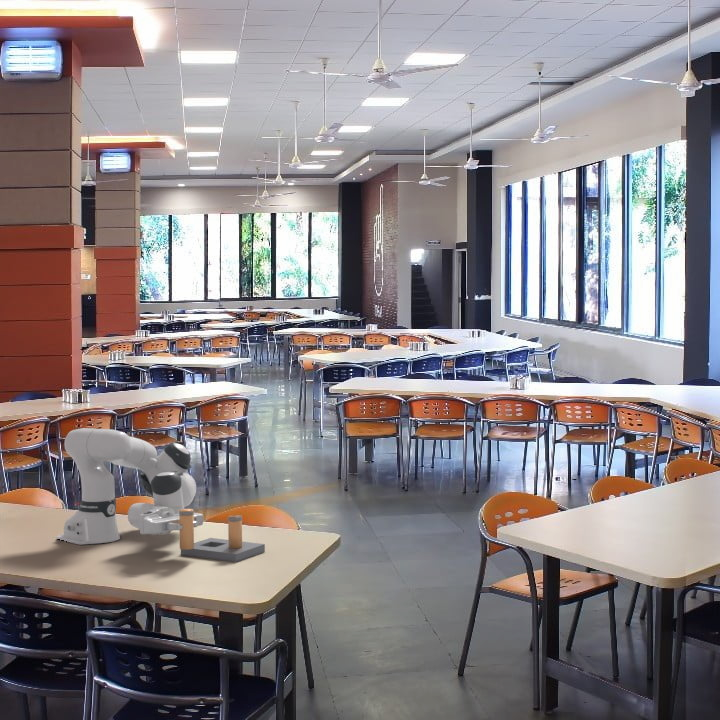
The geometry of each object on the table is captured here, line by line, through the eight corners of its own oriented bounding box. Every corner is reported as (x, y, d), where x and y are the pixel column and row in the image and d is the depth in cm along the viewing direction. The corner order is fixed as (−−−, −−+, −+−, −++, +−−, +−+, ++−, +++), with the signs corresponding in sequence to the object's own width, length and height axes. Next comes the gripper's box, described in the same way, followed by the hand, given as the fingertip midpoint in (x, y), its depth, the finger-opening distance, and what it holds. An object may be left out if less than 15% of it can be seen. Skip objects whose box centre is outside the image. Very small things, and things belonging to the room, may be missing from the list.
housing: (180, 554, 324) (180, 516, 323) (210, 545, 338) (210, 508, 337) (236, 561, 313) (235, 522, 313) (264, 551, 327) (264, 513, 327)
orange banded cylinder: (176, 548, 313) (176, 510, 312) (185, 545, 317) (185, 508, 316) (188, 550, 310) (187, 511, 310) (196, 547, 314) (196, 509, 314)
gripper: (188, 525, 330) (214, 530, 320) (135, 534, 315) (161, 541, 305) (188, 506, 330) (214, 511, 320) (135, 515, 315) (161, 520, 305)
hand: (188, 526), depth 313 cm, fingers closed on orange banded cylinder, 4 cm apart
